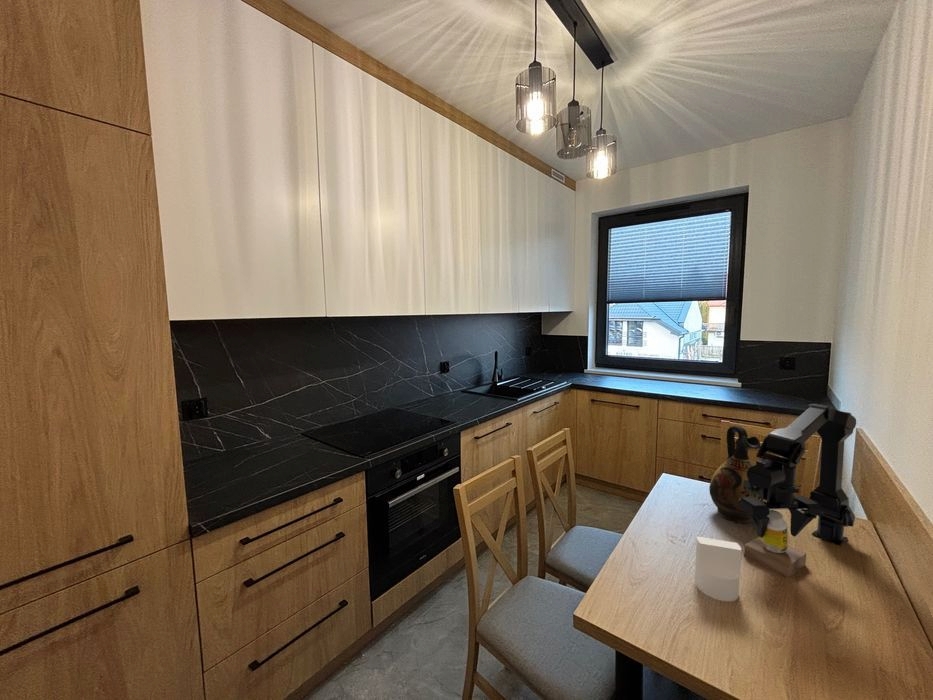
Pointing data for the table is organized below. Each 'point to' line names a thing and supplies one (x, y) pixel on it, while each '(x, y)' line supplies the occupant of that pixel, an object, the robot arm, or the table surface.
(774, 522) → the supplement bottle
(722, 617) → the table surface
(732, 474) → the ceramic jug
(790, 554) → the walnut block
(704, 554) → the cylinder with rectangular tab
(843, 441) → the robot arm
